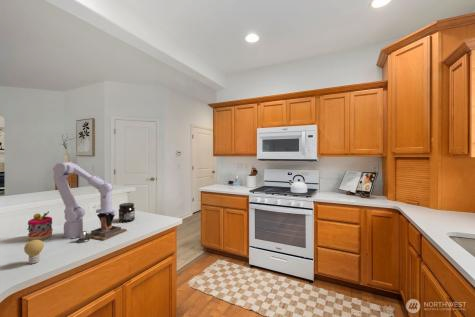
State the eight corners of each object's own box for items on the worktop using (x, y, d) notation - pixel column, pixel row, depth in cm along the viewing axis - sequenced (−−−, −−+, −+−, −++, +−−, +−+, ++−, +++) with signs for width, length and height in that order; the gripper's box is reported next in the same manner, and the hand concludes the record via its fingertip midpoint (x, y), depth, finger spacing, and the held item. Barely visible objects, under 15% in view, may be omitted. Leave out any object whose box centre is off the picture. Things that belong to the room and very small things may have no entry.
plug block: (101, 229, 129) (100, 217, 129) (106, 227, 133) (106, 215, 133) (105, 229, 128) (105, 218, 128) (111, 227, 132) (111, 216, 132)
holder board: (84, 237, 125) (84, 232, 125) (108, 228, 141) (108, 223, 141) (103, 240, 121) (103, 235, 121) (126, 230, 136) (126, 226, 136)
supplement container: (120, 219, 160) (120, 203, 159) (135, 217, 163) (135, 202, 163) (117, 223, 150) (116, 206, 149) (133, 222, 153) (133, 205, 152)
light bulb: (47, 258, 100) (47, 237, 100) (35, 266, 93) (34, 243, 93) (33, 258, 100) (33, 237, 99) (20, 266, 93) (19, 243, 93)
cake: (25, 243, 117) (25, 215, 116) (30, 236, 126) (30, 211, 125) (50, 239, 122) (50, 213, 122) (54, 233, 131) (53, 208, 131)
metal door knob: (73, 242, 118) (73, 233, 118) (84, 238, 124) (84, 229, 124) (81, 243, 116) (81, 234, 116) (92, 239, 122) (92, 230, 122)
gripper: (91, 203, 129) (91, 226, 129) (109, 205, 124) (109, 228, 124) (101, 201, 135) (102, 222, 136) (119, 202, 131) (119, 225, 131)
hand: (106, 225), depth 131 cm, fingers closed on plug block, 4 cm apart
